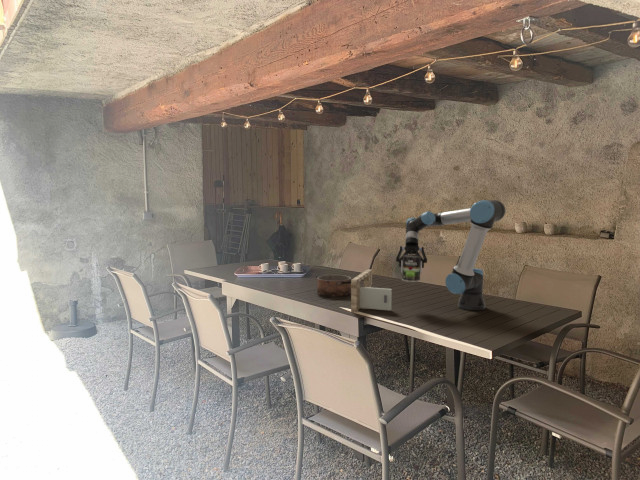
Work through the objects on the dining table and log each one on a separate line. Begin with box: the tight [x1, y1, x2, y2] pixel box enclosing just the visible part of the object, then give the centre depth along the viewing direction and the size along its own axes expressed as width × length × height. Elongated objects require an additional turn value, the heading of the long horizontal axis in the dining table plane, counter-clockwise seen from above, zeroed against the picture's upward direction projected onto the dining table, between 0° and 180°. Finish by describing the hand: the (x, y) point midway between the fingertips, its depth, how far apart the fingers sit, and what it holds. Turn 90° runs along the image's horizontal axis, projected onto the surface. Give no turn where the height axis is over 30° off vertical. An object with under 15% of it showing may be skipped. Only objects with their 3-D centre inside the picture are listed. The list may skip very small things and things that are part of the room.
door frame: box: [350, 269, 373, 313], centre depth 275 cm, size 38×3×18 cm, turn 161°
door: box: [359, 286, 393, 311], centre depth 262 cm, size 20×3×12 cm, turn 71°
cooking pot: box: [316, 274, 352, 298], centre depth 306 cm, size 30×22×11 cm
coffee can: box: [401, 254, 422, 283], centre depth 262 cm, size 10×10×14 cm
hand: (411, 271), depth 259 cm, fingers closed on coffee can, 10 cm apart
